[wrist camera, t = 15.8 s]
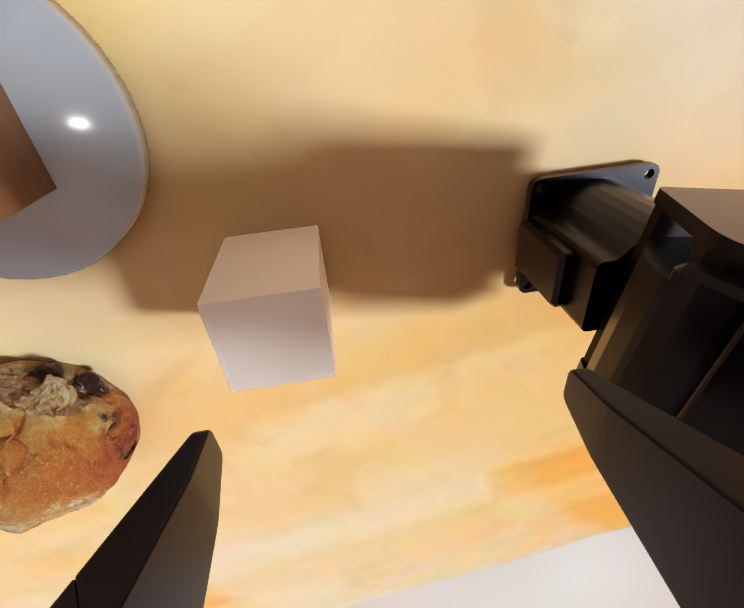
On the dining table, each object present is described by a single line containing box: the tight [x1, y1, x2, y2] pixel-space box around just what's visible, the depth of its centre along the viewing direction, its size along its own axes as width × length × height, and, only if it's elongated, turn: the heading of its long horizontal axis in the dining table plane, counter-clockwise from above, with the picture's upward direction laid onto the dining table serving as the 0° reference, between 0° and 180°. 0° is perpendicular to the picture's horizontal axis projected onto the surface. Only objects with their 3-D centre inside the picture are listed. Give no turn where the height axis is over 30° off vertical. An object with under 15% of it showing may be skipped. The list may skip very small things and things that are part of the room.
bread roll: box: [0, 360, 140, 534], centre depth 23 cm, size 10×10×8 cm
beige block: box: [197, 225, 337, 392], centre depth 19 cm, size 4×4×6 cm
